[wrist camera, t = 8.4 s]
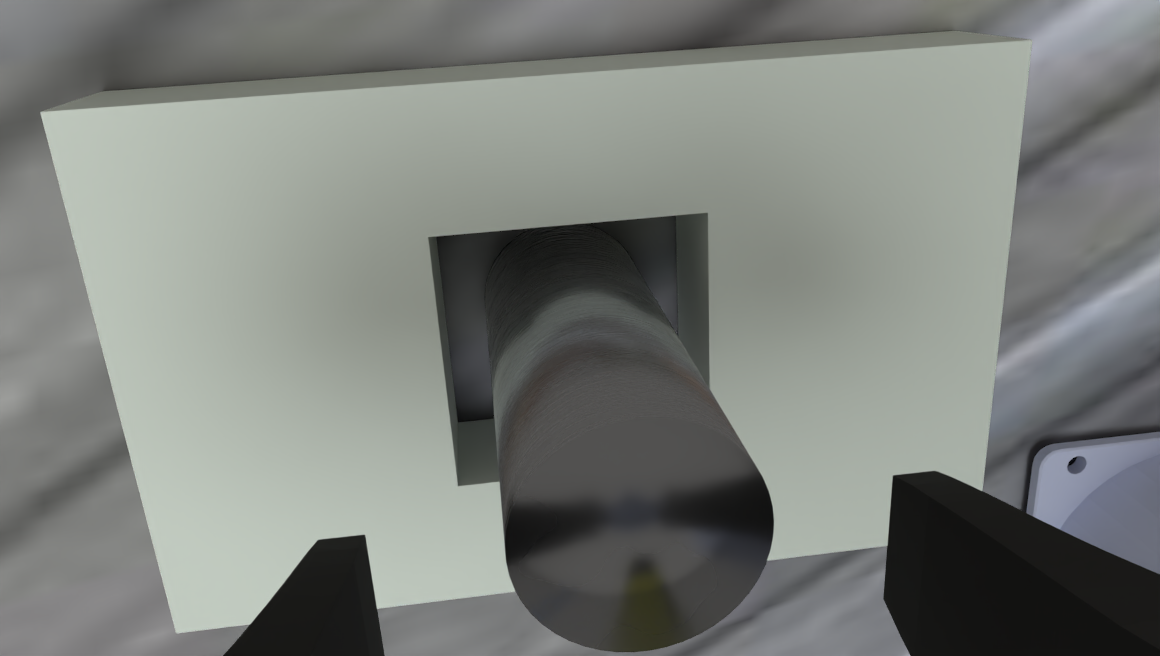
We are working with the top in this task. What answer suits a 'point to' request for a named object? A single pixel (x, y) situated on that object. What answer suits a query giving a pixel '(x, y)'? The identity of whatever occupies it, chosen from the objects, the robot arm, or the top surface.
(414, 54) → the top surface
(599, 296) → the peg
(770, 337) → the hole block
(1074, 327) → the top surface
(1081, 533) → the robot arm
